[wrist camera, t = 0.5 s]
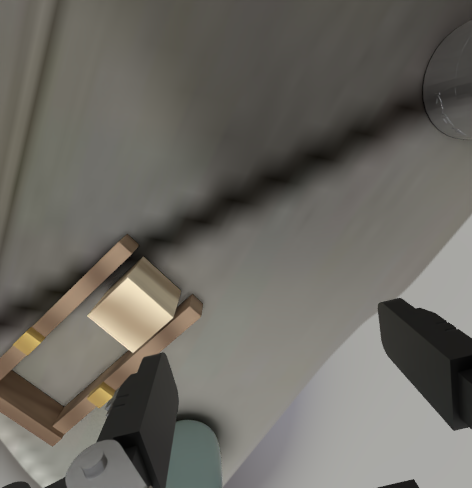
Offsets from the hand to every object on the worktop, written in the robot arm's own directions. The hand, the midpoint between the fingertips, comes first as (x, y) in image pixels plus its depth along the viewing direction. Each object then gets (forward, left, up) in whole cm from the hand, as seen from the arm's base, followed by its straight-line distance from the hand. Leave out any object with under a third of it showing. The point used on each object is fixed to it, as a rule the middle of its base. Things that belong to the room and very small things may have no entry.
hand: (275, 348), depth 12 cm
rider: (+11, -2, -19) cm, 22 cm away
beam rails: (+18, -2, -19) cm, 26 cm away
